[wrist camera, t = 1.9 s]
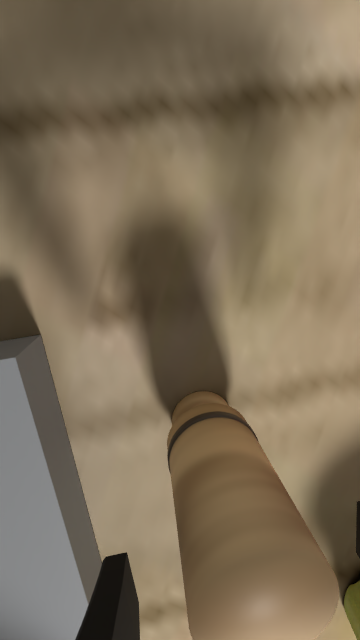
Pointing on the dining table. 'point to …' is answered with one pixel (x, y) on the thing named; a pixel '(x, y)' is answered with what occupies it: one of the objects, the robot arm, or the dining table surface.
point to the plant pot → (353, 607)
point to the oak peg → (241, 533)
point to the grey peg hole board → (40, 506)
